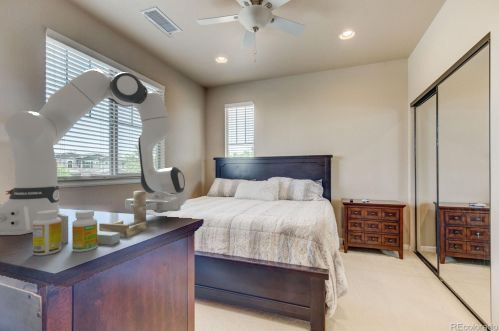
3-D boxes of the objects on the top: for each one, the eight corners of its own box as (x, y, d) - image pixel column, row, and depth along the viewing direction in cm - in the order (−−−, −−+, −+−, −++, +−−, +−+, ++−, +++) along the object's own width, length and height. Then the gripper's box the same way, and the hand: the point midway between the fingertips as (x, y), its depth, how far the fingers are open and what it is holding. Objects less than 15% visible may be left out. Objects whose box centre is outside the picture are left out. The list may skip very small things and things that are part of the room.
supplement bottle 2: (85, 253, 61) (84, 213, 61) (66, 251, 62) (66, 212, 62) (102, 246, 66) (102, 209, 66) (85, 244, 67) (85, 209, 67)
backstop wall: (85, 238, 73) (85, 230, 73) (119, 241, 70) (119, 232, 70) (75, 241, 70) (75, 232, 70) (111, 244, 67) (111, 235, 67)
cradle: (120, 227, 86) (120, 217, 86) (146, 229, 83) (146, 219, 83) (99, 235, 77) (99, 223, 77) (126, 237, 74) (126, 225, 74)
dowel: (132, 224, 85) (132, 192, 85) (135, 221, 89) (135, 191, 89) (144, 223, 86) (144, 191, 86) (147, 221, 90) (147, 190, 90)
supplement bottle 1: (63, 247, 66) (63, 208, 66) (59, 253, 61) (59, 211, 61) (36, 250, 63) (35, 210, 63) (30, 258, 58) (29, 214, 58)
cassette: (48, 237, 75) (47, 211, 75) (55, 235, 76) (55, 211, 76) (62, 244, 68) (62, 216, 68) (70, 243, 69) (70, 215, 69)
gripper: (139, 193, 103) (113, 197, 89) (184, 194, 98) (163, 199, 84) (139, 208, 103) (113, 214, 89) (184, 210, 98) (163, 217, 84)
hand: (138, 207), depth 87 cm, fingers closed on dowel, 4 cm apart
